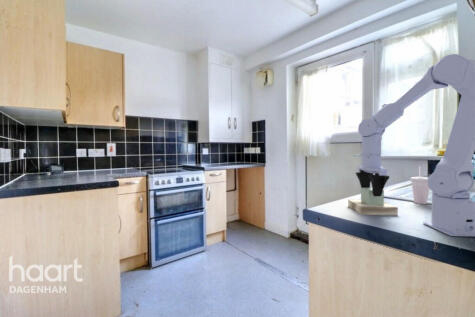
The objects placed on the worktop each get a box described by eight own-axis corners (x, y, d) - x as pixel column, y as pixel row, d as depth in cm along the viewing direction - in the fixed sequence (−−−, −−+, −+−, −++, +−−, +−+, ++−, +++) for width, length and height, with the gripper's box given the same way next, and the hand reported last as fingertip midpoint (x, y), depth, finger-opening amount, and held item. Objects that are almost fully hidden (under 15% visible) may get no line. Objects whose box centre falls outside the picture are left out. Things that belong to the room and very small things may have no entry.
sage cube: (383, 204, 75) (383, 190, 75) (368, 205, 75) (368, 190, 75) (375, 201, 80) (375, 187, 80) (361, 201, 80) (361, 187, 80)
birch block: (397, 216, 72) (397, 207, 72) (361, 216, 73) (361, 207, 73) (379, 207, 83) (379, 199, 83) (348, 207, 84) (348, 199, 84)
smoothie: (423, 201, 89) (423, 165, 88) (436, 205, 82) (436, 167, 82) (406, 201, 89) (406, 166, 89) (417, 205, 83) (417, 167, 82)
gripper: (397, 155, 69) (396, 198, 70) (371, 153, 84) (371, 189, 84) (373, 155, 70) (373, 198, 70) (352, 154, 84) (352, 189, 85)
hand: (371, 193), depth 77 cm, fingers open, 7 cm apart
